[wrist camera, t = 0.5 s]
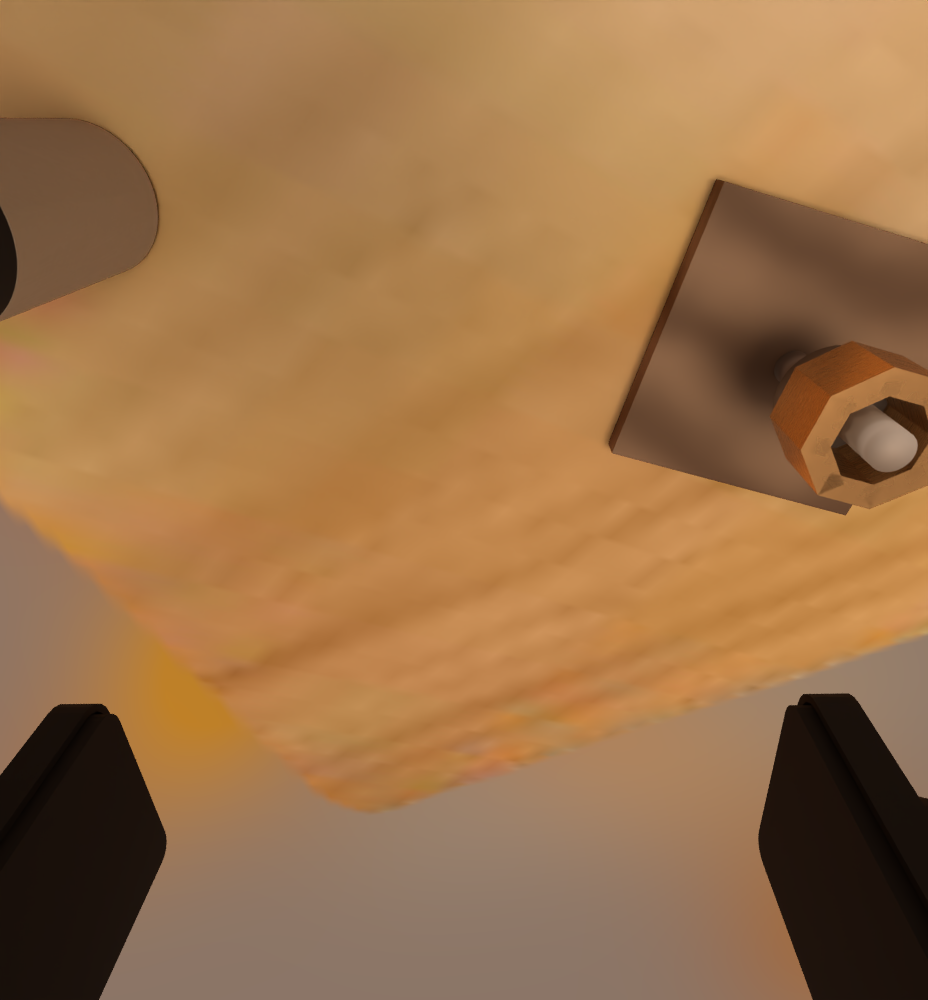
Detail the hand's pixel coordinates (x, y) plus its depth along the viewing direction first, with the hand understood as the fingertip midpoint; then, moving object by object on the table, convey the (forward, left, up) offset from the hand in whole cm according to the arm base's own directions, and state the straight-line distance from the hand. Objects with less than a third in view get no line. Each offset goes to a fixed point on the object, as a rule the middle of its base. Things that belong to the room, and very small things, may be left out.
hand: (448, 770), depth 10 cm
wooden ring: (0, +18, -26) cm, 32 cm away
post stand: (0, +18, -34) cm, 39 cm away
